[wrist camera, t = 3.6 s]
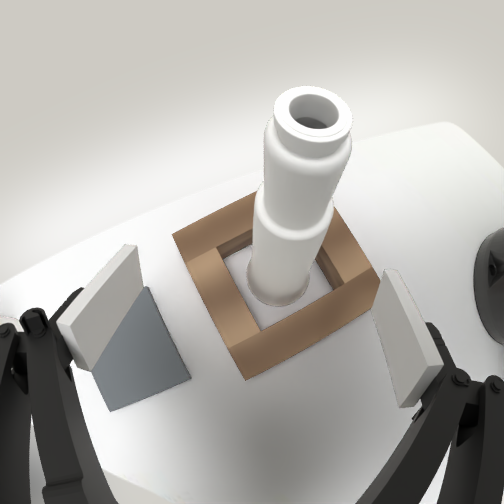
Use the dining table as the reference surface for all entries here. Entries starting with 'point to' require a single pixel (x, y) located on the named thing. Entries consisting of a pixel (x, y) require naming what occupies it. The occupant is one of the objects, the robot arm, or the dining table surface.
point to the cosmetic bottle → (297, 190)
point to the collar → (234, 307)
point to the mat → (138, 357)
